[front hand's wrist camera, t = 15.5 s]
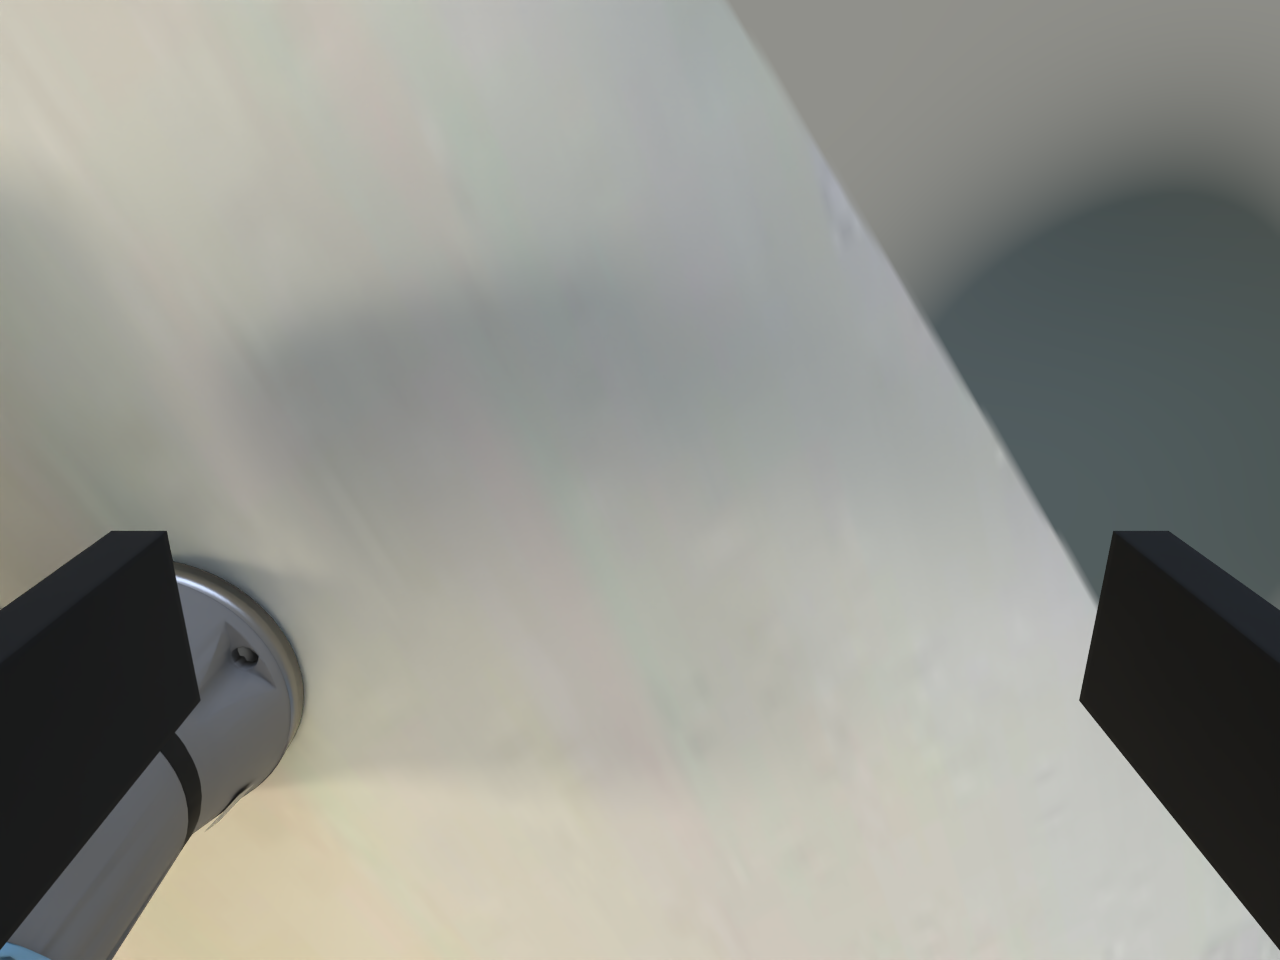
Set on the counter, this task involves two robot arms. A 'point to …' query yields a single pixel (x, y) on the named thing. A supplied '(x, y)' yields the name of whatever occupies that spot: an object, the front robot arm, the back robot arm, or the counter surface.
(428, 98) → the counter surface
